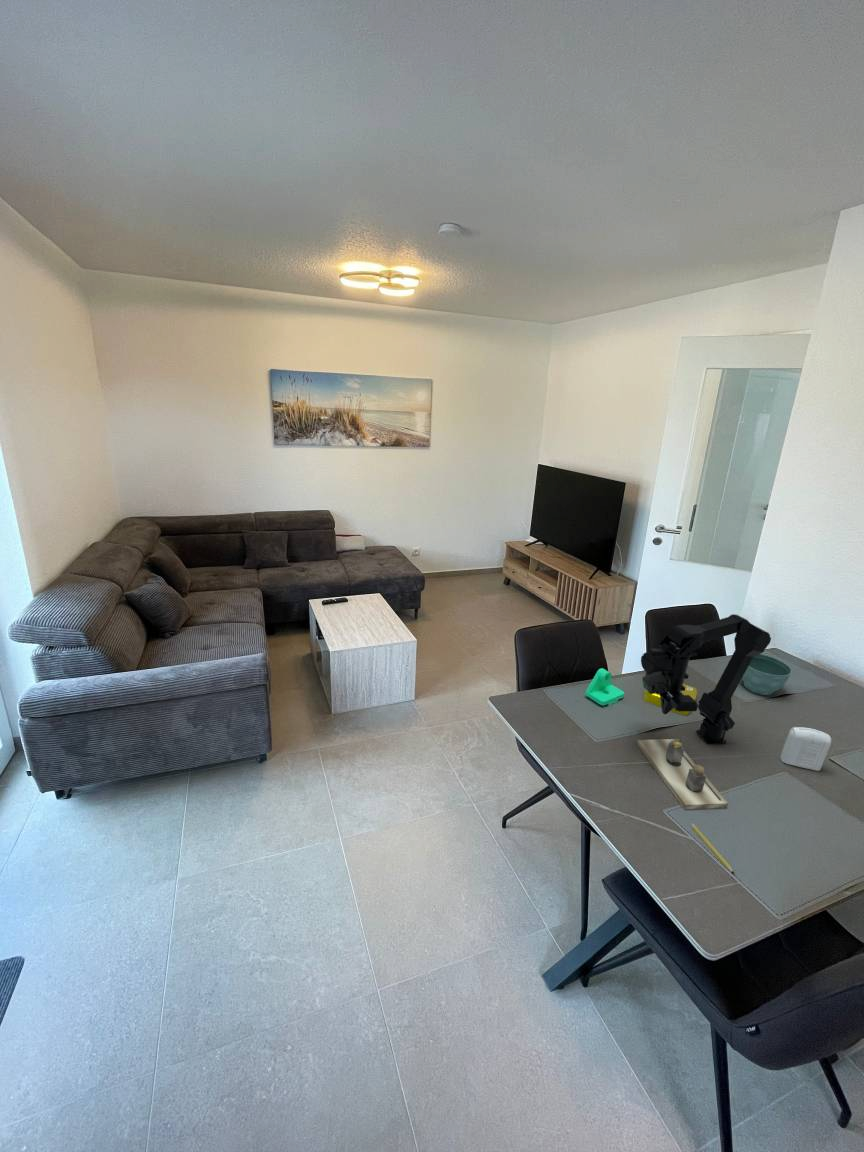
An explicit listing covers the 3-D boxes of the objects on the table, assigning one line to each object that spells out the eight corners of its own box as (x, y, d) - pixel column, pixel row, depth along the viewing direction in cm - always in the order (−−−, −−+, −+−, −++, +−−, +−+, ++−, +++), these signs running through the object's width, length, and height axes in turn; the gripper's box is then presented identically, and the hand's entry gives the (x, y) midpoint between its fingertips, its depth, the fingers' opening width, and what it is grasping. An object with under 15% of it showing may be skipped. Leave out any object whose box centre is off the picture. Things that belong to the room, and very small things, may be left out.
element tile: (641, 701, 178) (644, 689, 177) (652, 683, 190) (655, 672, 188) (687, 717, 170) (690, 705, 169) (695, 698, 182) (698, 687, 180)
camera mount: (601, 708, 173) (606, 683, 169) (584, 697, 179) (589, 672, 175) (624, 699, 179) (629, 674, 175) (607, 688, 185) (612, 664, 181)
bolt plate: (673, 742, 157) (678, 721, 154) (726, 807, 132) (734, 783, 129) (636, 744, 155) (641, 722, 152) (684, 809, 131) (691, 785, 128)
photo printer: (816, 763, 150) (829, 729, 146) (822, 773, 147) (836, 738, 142) (777, 755, 153) (789, 721, 149) (782, 764, 149) (794, 730, 145)
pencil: (732, 876, 113) (733, 873, 113) (689, 826, 126) (690, 823, 126) (736, 875, 114) (737, 872, 113) (693, 826, 126) (694, 823, 126)
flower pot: (793, 702, 181) (802, 676, 178) (749, 700, 181) (757, 674, 178) (766, 678, 197) (773, 654, 193) (725, 676, 197) (732, 652, 193)
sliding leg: (674, 756, 148) (679, 737, 146) (680, 763, 145) (685, 744, 143) (665, 756, 148) (670, 738, 145) (670, 763, 145) (675, 744, 143)
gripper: (634, 652, 153) (624, 696, 159) (666, 686, 136) (655, 733, 141) (668, 652, 155) (658, 695, 160) (704, 685, 137) (691, 732, 143)
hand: (664, 713), depth 151 cm, fingers closed
